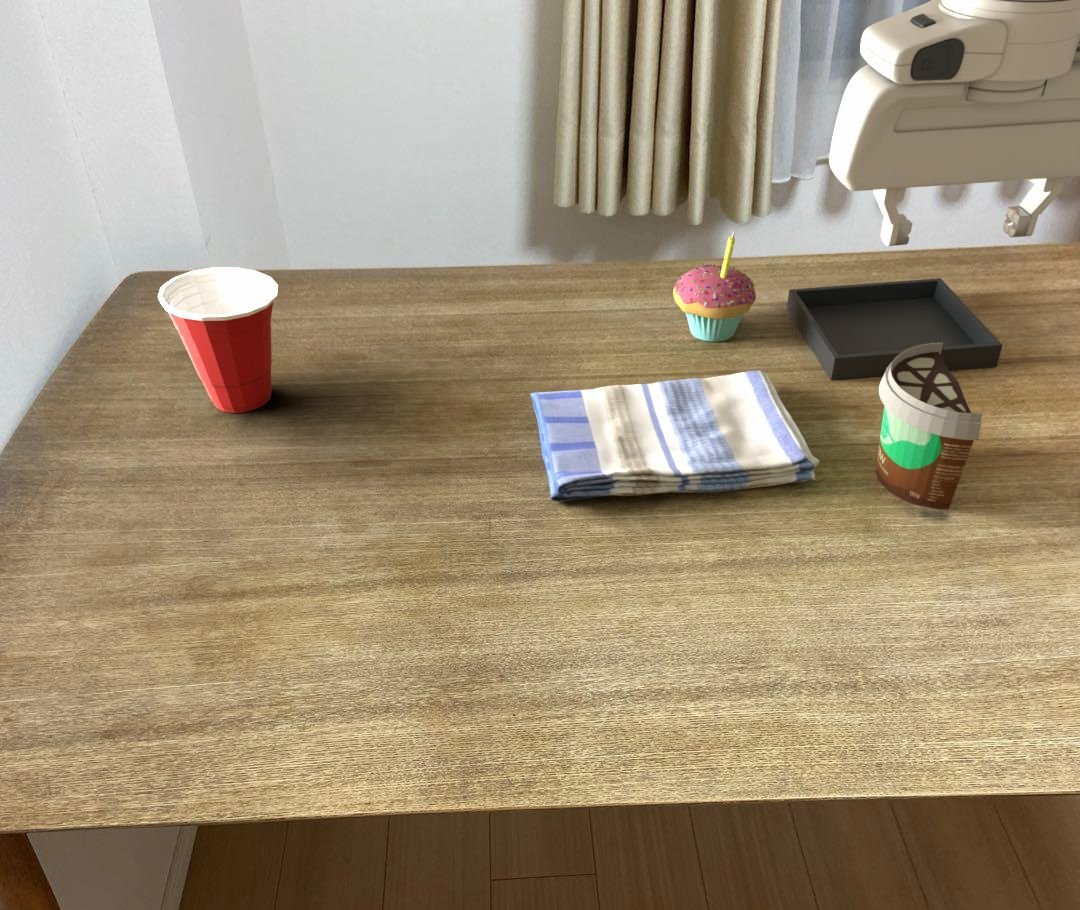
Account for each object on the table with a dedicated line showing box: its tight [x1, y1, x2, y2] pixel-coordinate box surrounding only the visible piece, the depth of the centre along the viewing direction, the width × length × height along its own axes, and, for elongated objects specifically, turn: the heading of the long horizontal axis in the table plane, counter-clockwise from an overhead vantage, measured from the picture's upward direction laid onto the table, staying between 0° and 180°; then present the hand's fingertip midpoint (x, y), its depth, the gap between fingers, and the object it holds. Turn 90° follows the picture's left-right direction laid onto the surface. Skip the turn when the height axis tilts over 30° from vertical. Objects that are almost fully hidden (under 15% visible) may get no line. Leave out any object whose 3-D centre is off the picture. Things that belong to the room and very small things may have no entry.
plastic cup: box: [157, 266, 279, 414], centre depth 98 cm, size 11×11×12 cm
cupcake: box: [672, 230, 757, 343], centre depth 106 cm, size 9×8×12 cm
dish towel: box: [530, 369, 821, 502], centre depth 93 cm, size 17×24×3 cm
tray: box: [785, 277, 1004, 381], centre depth 107 cm, size 17×15×2 cm
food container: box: [875, 343, 984, 510], centre depth 86 cm, size 12×6×10 cm, turn 178°
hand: (955, 238), depth 75 cm, fingers open, 8 cm apart
